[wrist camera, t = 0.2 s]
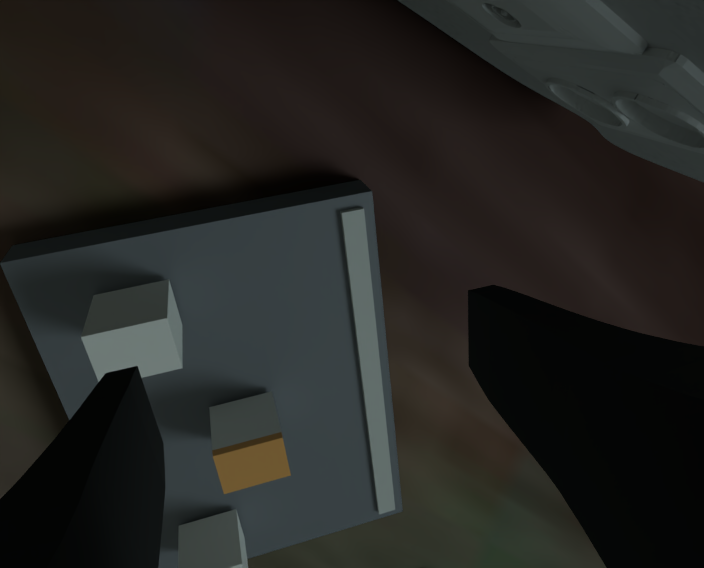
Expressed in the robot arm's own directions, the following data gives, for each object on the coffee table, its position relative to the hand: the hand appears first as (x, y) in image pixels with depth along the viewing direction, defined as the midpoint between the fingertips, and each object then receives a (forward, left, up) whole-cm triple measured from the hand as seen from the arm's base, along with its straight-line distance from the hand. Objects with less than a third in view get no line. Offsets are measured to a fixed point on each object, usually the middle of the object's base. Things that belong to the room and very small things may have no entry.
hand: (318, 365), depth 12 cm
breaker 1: (-2, +5, -8) cm, 10 cm away
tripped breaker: (-7, +2, -8) cm, 11 cm away
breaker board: (-7, +2, -10) cm, 12 cm away
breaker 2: (-13, +5, -8) cm, 16 cm away
